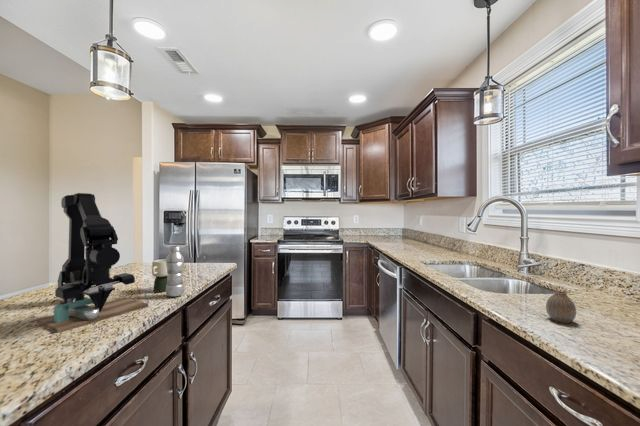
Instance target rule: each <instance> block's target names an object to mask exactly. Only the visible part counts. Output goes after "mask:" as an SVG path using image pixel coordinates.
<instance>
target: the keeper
mask: <svg viewBox="0 0 640 426" xmlns="http://www.w3.org/2000/svg"><path fill="white" fill-rule="evenodd" d="M91 304H94V303H93V301H92V299H91V298H90V297H89V298H88V299H84V300H80V301H75V302H71V303H66V304H63V303H61V304H58V305H55V306H53V315H54V322H56V323H60V322H63V321H67V320H69V309H71V308H75V307H79V306H84V305H88V306H89V305H91Z"/></svg>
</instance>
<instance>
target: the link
mask: <svg viewBox="0 0 640 426" xmlns="http://www.w3.org/2000/svg"><path fill="white" fill-rule="evenodd" d="M75 301H76V298H69V299H67V303H71V302H75ZM92 306H93V305H89V304H88V305H84V306H79V307H75V308H71V309H69V316H72V317H76V318H80V319H84V320H91V319H95V318H98V317H99V308H97V307H92Z"/></svg>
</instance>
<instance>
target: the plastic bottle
mask: <svg viewBox="0 0 640 426" xmlns="http://www.w3.org/2000/svg"><path fill="white" fill-rule="evenodd" d="M165 259H166V266H167V273H168V274H167V276H168V277H167V286H166V290H165V294H166V295H167V297H173V298H175V297H179V296H182V295H183V294H184V292H185V284H184V277H183V271H184V261H185V258H184V256H183V254H182V253H181V245H170V246H169V253H168V255H167V256H166V257H165Z"/></svg>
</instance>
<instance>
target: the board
mask: <svg viewBox="0 0 640 426" xmlns="http://www.w3.org/2000/svg"><path fill="white" fill-rule="evenodd" d="M91 306H92V307H95V305H91ZM148 307H149V303H148V302H143V301H140V300H137V299H133V298H130V297H129V298H128V297H123V298H118V299H114V300H110V301H106V302H105V304H104V306H103V308H102V310H101V312H99V317H98V318H95V319H91V320H84V319H80V318H76V317H72V316H69V320H67V321H63V322H60V323H56V322H54V314H53V315H49V316H45V317H42V318H41V317H40V318H37V319H36V323H37V324H39V325H41V326H43V327H45V328H47V329H49V330H51V331H53V332H54V333H56V334H58V333H62V332H66V331H69V330H73V329H76V328H79V327H83V326H87V325H90V324H93V323H97V322H99V321H103V320H107V319H110V318H113V317H117V316H121V315H123V314H128V313H130V312H134V311H137V310H141V309H144V308H145V309H146V308H148Z"/></svg>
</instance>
